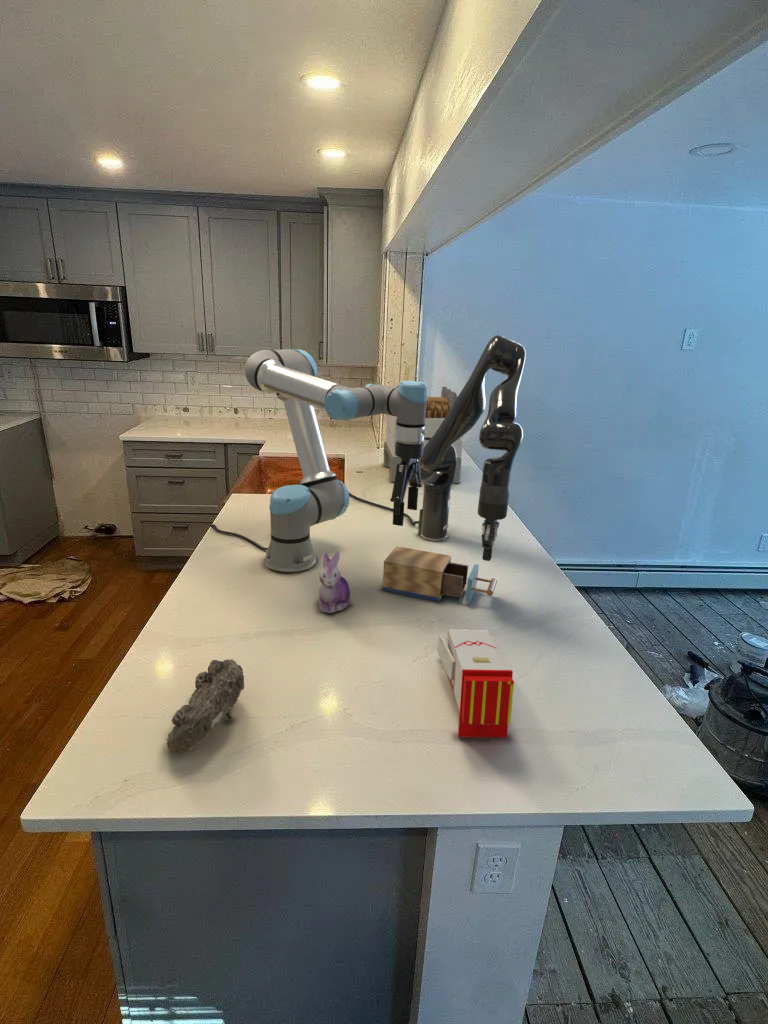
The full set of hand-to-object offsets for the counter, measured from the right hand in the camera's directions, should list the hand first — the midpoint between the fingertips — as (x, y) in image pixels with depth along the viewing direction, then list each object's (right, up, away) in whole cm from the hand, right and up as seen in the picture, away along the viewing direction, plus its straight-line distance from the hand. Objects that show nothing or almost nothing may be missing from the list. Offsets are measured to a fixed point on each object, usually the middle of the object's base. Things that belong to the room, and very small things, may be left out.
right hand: (486, 559), depth 153 cm
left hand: (-22, +11, +4) cm, 25 cm away
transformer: (-10, +32, +122) cm, 127 cm away
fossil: (-60, -26, -45) cm, 80 cm away
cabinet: (-18, -9, +10) cm, 23 cm away
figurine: (-41, -12, -3) cm, 43 cm away
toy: (-10, -25, -34) cm, 43 cm away
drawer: (-7, -9, +6) cm, 13 cm away
